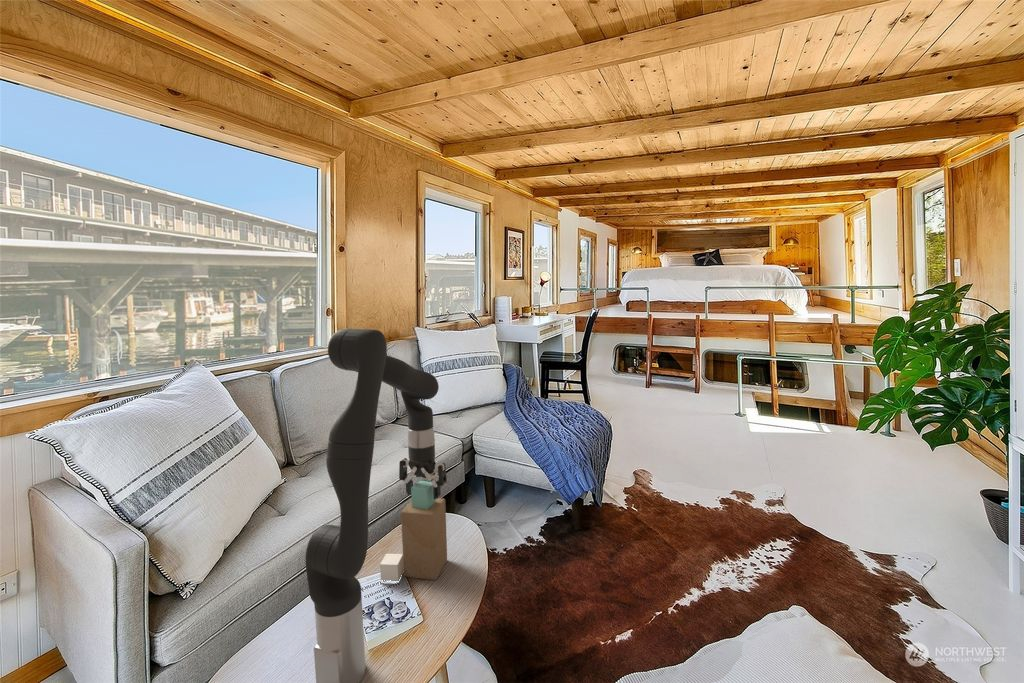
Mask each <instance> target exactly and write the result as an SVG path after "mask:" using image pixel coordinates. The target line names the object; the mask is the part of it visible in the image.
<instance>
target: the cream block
mask: <svg viewBox="0 0 1024 683" xmlns="http://www.w3.org/2000/svg"><path fill="white" fill-rule="evenodd" d="M379 570H380V573H379V574H380V581H381V580H391V581H399V579H400V577H401V575H402V574H403V573H404V567H403V553H385V554H384V557H383V558H382V560H381V562H380V563H379ZM403 575H404V574H403Z"/></svg>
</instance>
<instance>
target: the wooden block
mask: <svg viewBox="0 0 1024 683" xmlns="http://www.w3.org/2000/svg"><path fill="white" fill-rule="evenodd" d="M446 510H447V509H446V499H445V498H441V497H438V498H437V499H436V502H435V503H434V504H433V505H432V506H431V507H430V508H429V509H428V510H425V509H418V508H412V499H411V501H409V502H408V504H407V505H406V506H405V507H404V508H403V509H402V510H401V512H400V515H401V516H400V517H401V518H400V519H401V540H402V541H401V542H402V543H401V544H402V545H401V546H402V554H403V568H404V574H403V577H405V576H406V578H416V579H423V580H428V581H429V580H430V581H436V580H437V579H438V577H439V575H440V573H441V571H442V570H443V568H444V567H445V564H446V563H447V561H448V543H447V541H448V540H447V539H448V538H447V512H446Z"/></svg>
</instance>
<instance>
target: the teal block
mask: <svg viewBox="0 0 1024 683" xmlns="http://www.w3.org/2000/svg"><path fill="white" fill-rule="evenodd" d="M433 487H434V486H433V484H432V483H431V482H430V481H425V480H419V481H417V482H416V483H414V484H413V487H411V495H410V496H411V500H412V508H418V509H425V510H428V509H429V508H430V507H431V506H432V505H433V504H434V503H435V502H436V499H434V496H433Z"/></svg>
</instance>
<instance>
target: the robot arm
mask: <svg viewBox="0 0 1024 683" xmlns="http://www.w3.org/2000/svg"><path fill="white" fill-rule="evenodd" d="M387 351H388V346H387V339H386V337H385V334H384V333H383V332H382V331H380V330H378V329H368V328H365V329H364V328H343V329H340V330H337V331H336V332H334V333H333V334H332V335H331V337H330V338H329V341H328V344H327V356H328V358H329V360H330V362H331V364H333V366H335V367H336V368H338V369H340V370H344V371H349V372H350V371H352V372H356V373H357V380H356V382H355V383H356V385H355V389H354V391H353V394H352V397H351V398H350V400H349V402H348V403H347V405H346V406H345V408H344V409H343V411H341V413H340V415H339V416H338V417H337V418H336V420H335V422H334V423H333V425H332V427H331V429H330V432H329V433H328V434H329V435H328V441H327V442H328V443H327V450H326V459H325V460H326V462H325V464H326V470H327V474H328V476H329V479H330V482H331V485H332V487H333V490H334V492H335V494H336V498H337V500H338V503H339V504H338V505H339V509H340V526H339V525H333V524H324V525H322V526H319V527H318V528H317V529H316V530H315V531H314V532H313V533H312V535H311V536H310V538H309V540H308V543H307V546H306V551H305V561H304V562H305V572H306V578H307V587H308V593H309V597H310V600H311V601H312V602H313V605H314V614H315V615H314V617H315V630H316V643H317V644H316V645H315V646H314V647H313V656H314V668H315V669H314V670H315V683H360V682H361V681H362V679H363V678H364V676H365V674H366V667H367V666H366V652H365V637H364V636H365V635H364V618H363V616H364V615H363V600H362V598H363V596H362V586H361V583H360V581H359V580H358V578H356V576H357V575H358V574H359V573H360V571H361V570H362V568H363V566H364V563H365V560H366V557H367V552H368V546H369V545H368V544H369V497H370V484H371V483H370V482H371V474H372V473H371V472H372V465H373V458H374V457H373V456H374V449H375V448H374V447H375V436H376V422H377V414H378V406H379V398H380V393H381V389H382V388H381V386H382V384H383V383H385V384H386V385H388V386H390V387H391V388H393V389H396V390H398V391H399V392H400V395H401V398H402V401H403V403H404V408H405V410H406V414H407V426H408V427H407V428H408V430H407V448H408V449H407V451H408V452H407V453H408V457H404V458H402V459H401V460H400V461H399V469H398V471H399V472H398V474H399V475H398V479H399V480H400V481H404V483H405V492H406V494H407V495H408V496H411V487H413V486H414V480H413V479H414V478H416V477H417V478H423V479H427V480H428V482H431V483H432V484H433V486H434V487H433V496H434V499H437V498H440V497H441V489H442V488H441V487H443V486H444V485H445V484H446V483H447V482H448V480H447V478H448V476H447V466H446V463H445V462H442V463H436V445H435V444H436V442H435V441H436V438H435V430H434V413H433V409H432V407H430V406H428V405H425V404H423V403H421V401H420V400H431V399H434V397H435V396H437V394H438V392H439V382H438V379H437V378H436V377H435V376H434V375H433V374H431V373H429V372H427V371H424V370H421V369H418V368H417V369H416V368H414V367H413V366H412V365H410V364H409V363H407V362H405V361H404V360H402V359H399V358H396V357H393V356H390V355H387V354H388V352H387ZM408 467H409V469H410V471H409V473H408ZM435 469H436V470H435ZM437 472H438V473H437Z"/></svg>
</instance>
